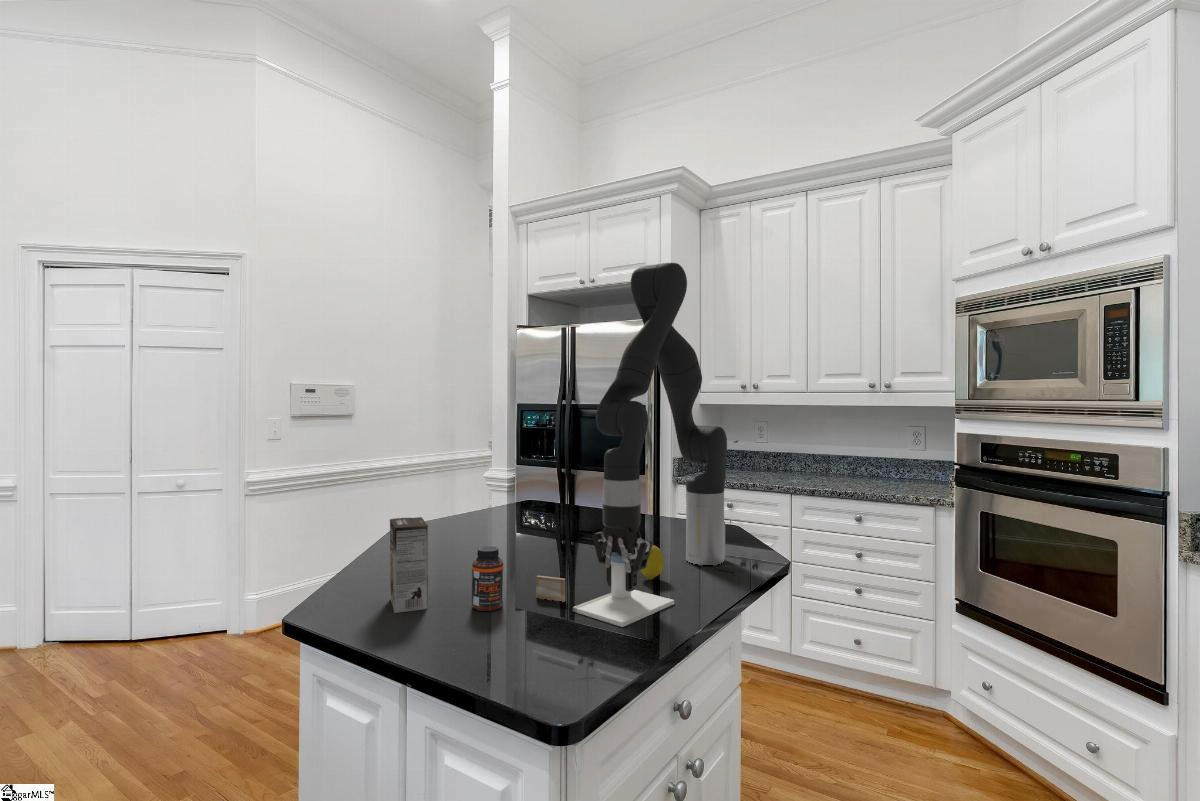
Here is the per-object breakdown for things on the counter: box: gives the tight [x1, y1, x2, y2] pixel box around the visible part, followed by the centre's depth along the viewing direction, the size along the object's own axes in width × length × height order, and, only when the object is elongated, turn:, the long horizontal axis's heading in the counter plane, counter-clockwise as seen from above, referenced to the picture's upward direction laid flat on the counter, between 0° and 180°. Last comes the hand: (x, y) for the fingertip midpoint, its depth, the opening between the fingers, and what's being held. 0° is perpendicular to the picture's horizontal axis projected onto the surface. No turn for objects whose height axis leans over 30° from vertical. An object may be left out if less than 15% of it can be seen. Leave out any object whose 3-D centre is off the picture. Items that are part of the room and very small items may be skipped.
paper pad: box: [572, 589, 675, 628], centre depth 119 cm, size 16×12×1 cm
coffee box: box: [389, 516, 429, 614], centre depth 121 cm, size 9×6×16 cm
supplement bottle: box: [471, 545, 504, 612], centre depth 119 cm, size 6×6×11 cm
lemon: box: [639, 543, 664, 581], centre depth 137 cm, size 6×6×8 cm
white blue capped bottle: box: [610, 552, 632, 599], centre depth 123 cm, size 4×4×8 cm
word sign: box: [535, 575, 566, 603], centre depth 123 cm, size 1×6×4 cm, turn 69°
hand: (621, 587), depth 123 cm, fingers closed on white blue capped bottle, 4 cm apart
